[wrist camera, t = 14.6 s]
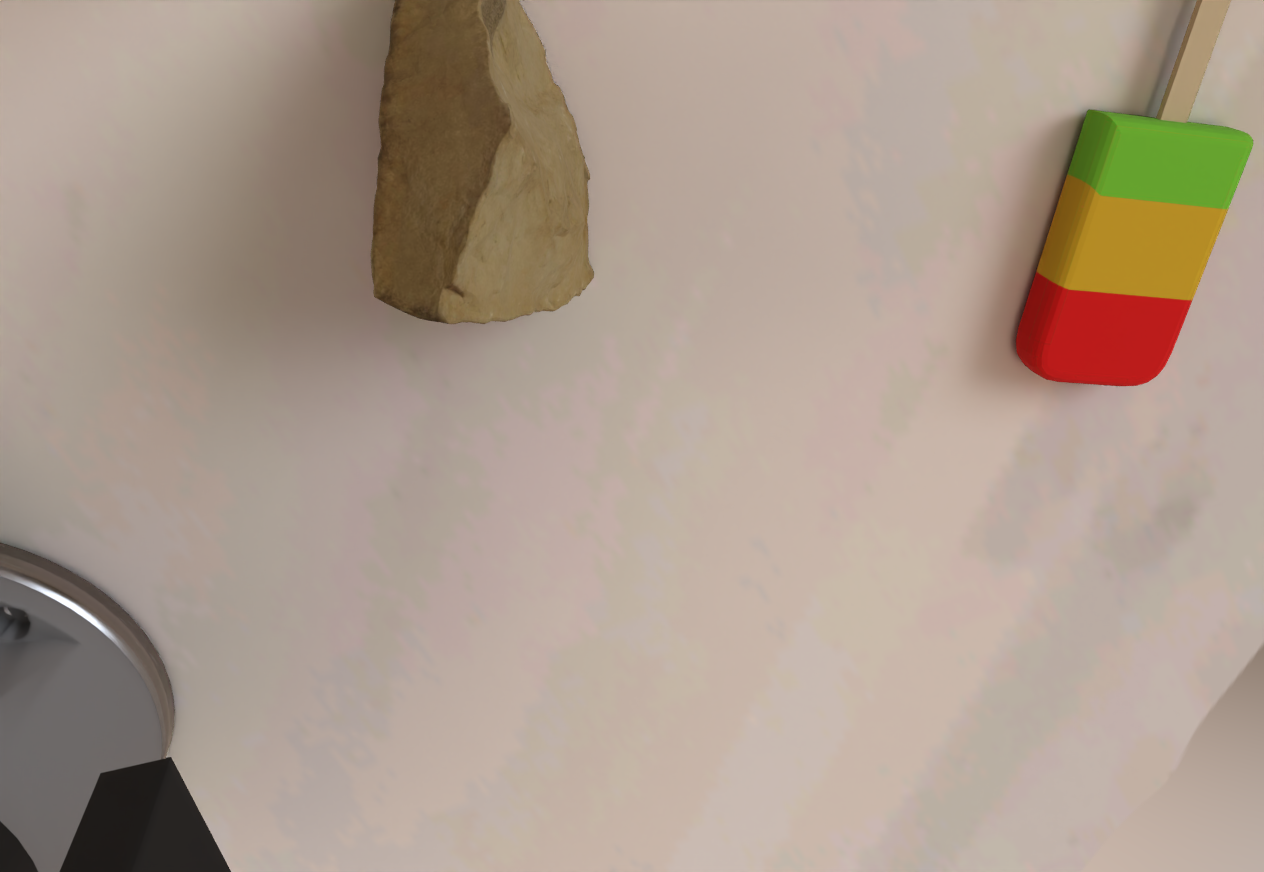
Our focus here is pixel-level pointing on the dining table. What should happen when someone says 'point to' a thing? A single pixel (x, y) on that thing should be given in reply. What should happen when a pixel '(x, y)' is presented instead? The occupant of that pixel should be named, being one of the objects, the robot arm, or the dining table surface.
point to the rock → (475, 169)
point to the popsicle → (1133, 231)
